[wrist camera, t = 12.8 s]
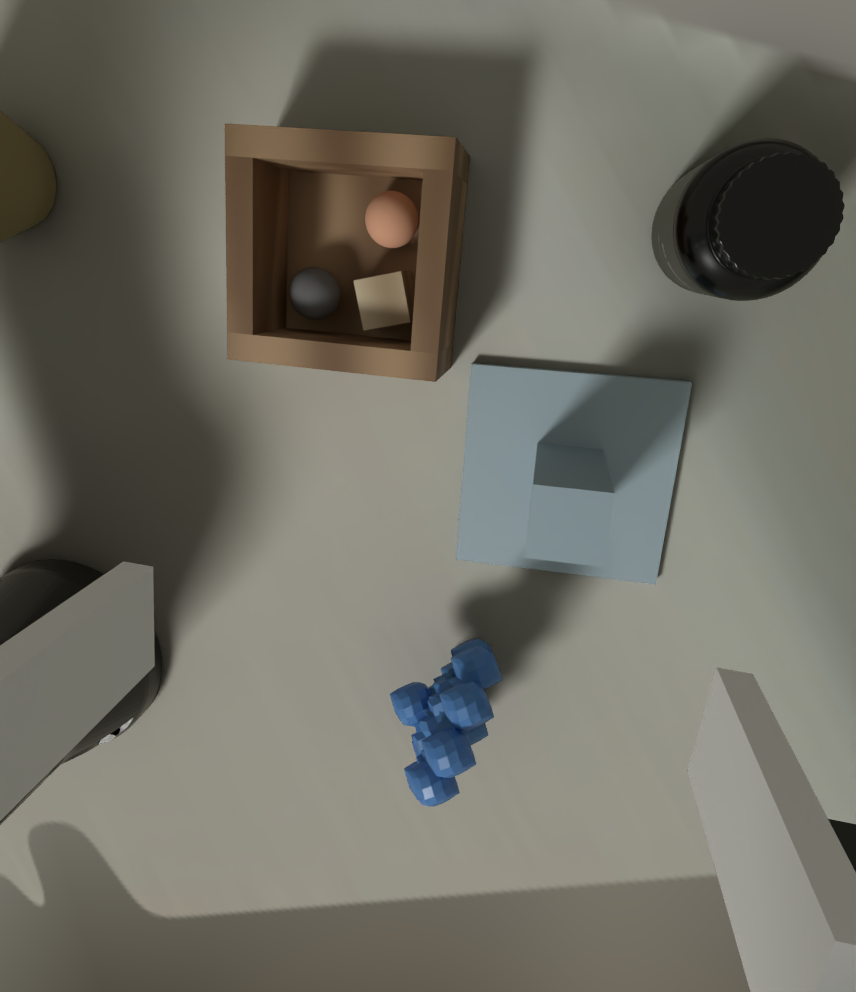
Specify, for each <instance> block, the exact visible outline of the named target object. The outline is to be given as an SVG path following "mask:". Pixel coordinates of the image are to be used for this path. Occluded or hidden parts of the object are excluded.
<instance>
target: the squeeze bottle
mask: <svg viewBox="0 0 856 992" xmlns="http://www.w3.org/2000/svg"><path fill="white" fill-rule="evenodd" d="M56 188H57V184H56V178H55V173H54V168H53V165H52V163H51V161H50V159H49V157H48V155H47V154H46V152H45V150H44V148H43V147H42V146H41V145H40V144H39V143H38V142H37V141H36V140H34V139H33V138H32V137H31V136H30V135H29V134H28V133H27V132H25V131H24V130H23V129H22V128H20V127H19V126H18V125H17V124H15V123H14V122H13V121H12V120H11V119H9V118H8V117H7V116H6V115H4V114H3V113H2V112H1V111H0V242H2V241H4V240H6V239H8V238H10V237H12V236H14V235H17V234H19V233H21V232H23V231H25V230H27V229H29V228H31V227H33V226H35V225H36V224H38V223H40V222H41V221H43V220H44V219H46V217H47V215H48V214H49V212H50V210H51V209H52V207H53V205H54V202H55V195H56Z"/></svg>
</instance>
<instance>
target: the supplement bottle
mask: <svg viewBox="0 0 856 992" xmlns="http://www.w3.org/2000/svg"><path fill="white" fill-rule="evenodd" d="M842 199H843V192H842V191H841V190H840V182H839V181H838V180H837V179H836V178H835V176H834V172H833V171H831V170H829V169H828V168H827V165H826V164H825V163H823V162H821V161H820V160H819V159H818V158H817V157H816V156H815V155H814V154H812V153H811V152H810V151H808V150H807V149H805V148H803V147H802V146H800V145H797V144H795V143H792V142H789V141H786V140H781V139H772V138H764V139H755V140H749V141H746V142H742V143H739V144H736V145H734V146H731V147H729V148H727V149H725V150H723V151H721V152H720V153H718V154H716V155H715V156H713V157H711V158H710V159H708V160H707V161H705V162H704V163H702V164H700V165H699V166H697V167H696V168H694V169H693V170H691V171H690V172H688V173H687V174H685V175H684V176H683V177H681V178H680V179H679V180H678V181H677V182H676V183H675V184H674V185H673V186H672V187H671V188H670V189H669V190H668V192H667V193H666V194H665V196H664V197H663V199H662V201H661V202H660V204H659V206H658V209H657V211H656V214H655V217H654V221H653V226H652V247H653V251H654V255H655V258H656V260H657V262H658V265H659V266H660V268H661V269H662V271H663V272H664V273H665V275H666V276H667V277H668V278H669V279H670V280H672V281H673V282H674V283H675V284H677V285H678V286H680V287H682V288H684V289H686V290H689V291H692V292H695V293H699V294H704V295H709V296H713V297H718V298H723V299H728V300H737V301H748V300H757V299H762V298H766V297H770V296H773V295H775V294H778V293H780V292H782V291H784V290H786V289H788V288H789V287H791V286H793V285H794V284H796V283H797V282H798V281H800V280H801V279H802V278H803V277H804V276H805V275H807V274H808V273H809V272H810V271H811V270H812V269H813V267H814V266H815V265H816V264H817V263H818V261H819V260H820V258H821V257H822V255H824V254H826V252H827V249H828V247H829V246H831V245H832V244H833V243H834V240H835V236H836V235H837V234H838V232H839V231H840V223H841V222H842V220H843V214H842V212H843V209H844V206H845V205H844V203H843V201H842Z"/></svg>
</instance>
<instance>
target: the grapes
mask: <svg viewBox="0 0 856 992" xmlns="http://www.w3.org/2000/svg"><path fill="white" fill-rule="evenodd" d="M451 653H452V658H451V661H452V662H451V663H449V664H447V665H446V666H444V667H442V668H441V672H442V675H441V676H439V677H437V678H435V679H433V680H434V681H435V683H434V684H433V685H432V686H431V687H429V688H428V687H427V686H426V685H425V684H423V683H420V682H413V683H410V684H408V685H405V686H403V687H401V688H399V689H397V690H396V691H394V692H392V693H391V694H390V696H391V700H392V704H393V707H394V710H395V713H396V715H397V716H398V718H399V720H400V721H401V722H402V724H403V725H407V726H415V727H416V731H417V733H415V734H413V735H411V736H412V739H413V741H412V743H413V747H414V751H415V754H416V759H417V761H416V762H414V763H412V764H411V765H409V766H407V767H406V768H404V770H405V774H406V778H407V781H408V784H409V788H410V789H411V791H412V792H413V794H414V796H415V797H416V798H417V800H419V801H420V803H421V804H422V805H426V806H437V805H439V804H442V803H444V802H446V801H448V800H449V799H451V798H452V797H454V796H455V795H457V794H458V793H459V789H458V785H457V782H456V779H455V776H457V775H459V774H461V773H463V772H464V771H466V770H468V769H469V768H471V767H472V766H474V765H476V762H475V758H474V754H473V751H472V749H471V746H470V745H472V744H474V743H476V742H478V741H480V740H482V739H483V738H485V737H486V736H488V732H487V728H486V725H485V722H487V721H489V720H490V719H492V718H493V717H494V715H493V712H492V708H491V705H490V702H489V700H488V697H487V695H486V693H485V691H484V689H486V688H488V687H491V686H493V685H495V684H496V683H498V682H500V681H501V680H502V676H501V672H500V669H499V667H498V664H497V662H496V659H495V657H494V655H493V652H492V650H491V647H490V645H488V644H487V643H486V642H485V641H483V640H481V639H472V640H469V641H466V642H464V643H462V644H460V645H458V646H457V647H455V648H453V649H452V650H451Z"/></svg>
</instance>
